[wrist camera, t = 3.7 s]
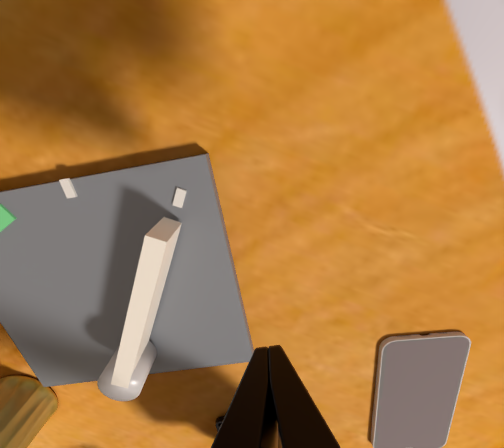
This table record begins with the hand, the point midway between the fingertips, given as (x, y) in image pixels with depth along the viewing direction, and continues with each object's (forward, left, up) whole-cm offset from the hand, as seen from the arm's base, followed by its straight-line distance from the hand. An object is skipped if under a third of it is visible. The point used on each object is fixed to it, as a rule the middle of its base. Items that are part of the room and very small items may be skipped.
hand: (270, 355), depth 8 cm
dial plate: (-2, +12, -10) cm, 16 cm away
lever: (-3, +9, -9) cm, 13 cm away
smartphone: (-19, -12, -11) cm, 25 cm away
